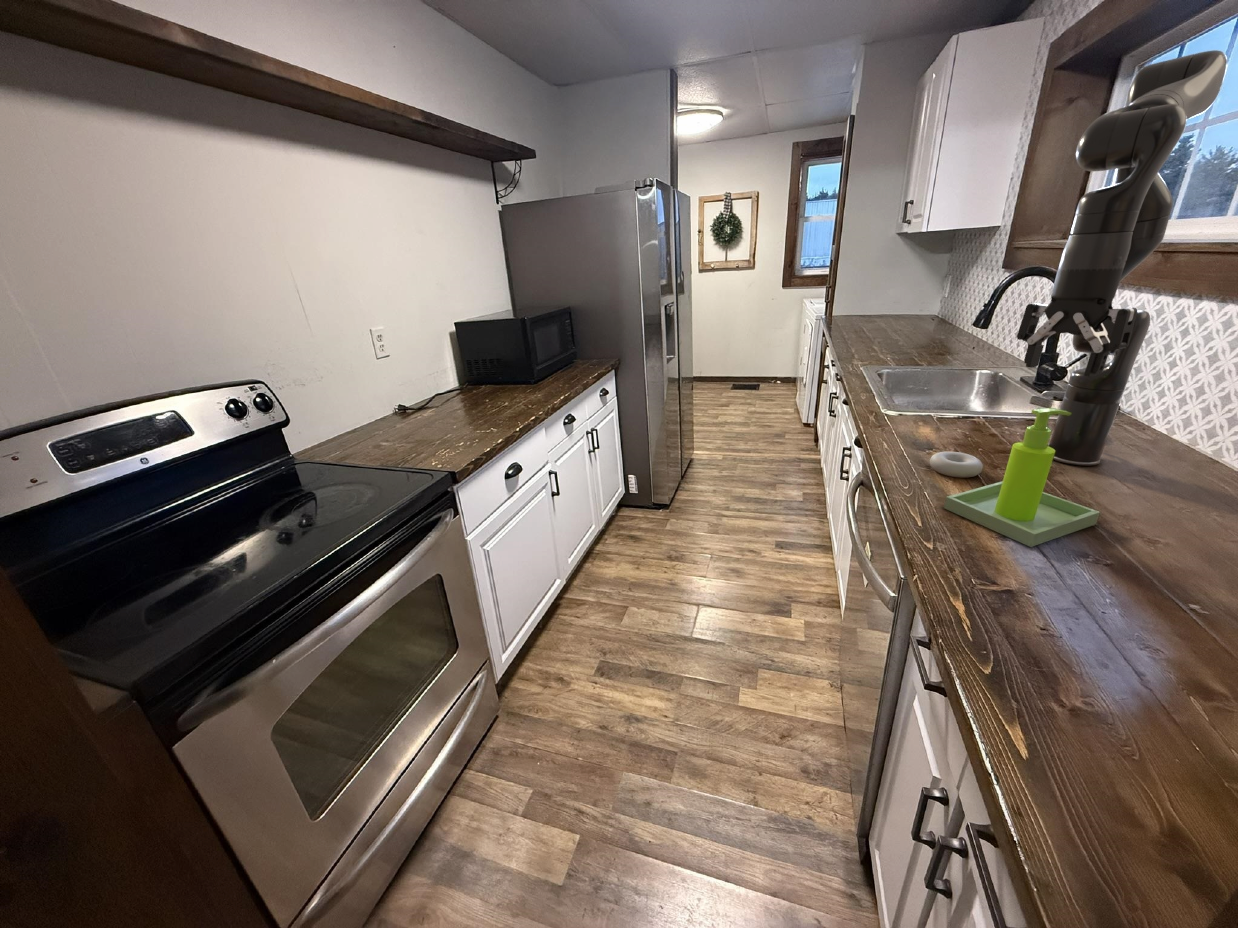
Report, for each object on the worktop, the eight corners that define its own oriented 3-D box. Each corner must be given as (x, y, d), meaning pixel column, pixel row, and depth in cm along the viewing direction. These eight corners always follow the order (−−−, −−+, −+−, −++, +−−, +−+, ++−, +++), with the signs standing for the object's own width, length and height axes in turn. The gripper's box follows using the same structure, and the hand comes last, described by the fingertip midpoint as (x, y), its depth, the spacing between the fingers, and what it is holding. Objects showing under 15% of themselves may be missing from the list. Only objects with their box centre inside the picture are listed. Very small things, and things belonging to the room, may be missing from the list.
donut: (937, 479, 108) (989, 480, 106) (940, 465, 107) (993, 466, 105) (921, 462, 117) (969, 463, 115) (924, 448, 116) (972, 449, 114)
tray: (1005, 490, 102) (1008, 479, 101) (1096, 524, 88) (1100, 511, 87) (943, 508, 96) (946, 496, 95) (1030, 547, 83) (1034, 534, 82)
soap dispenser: (1048, 520, 89) (1083, 413, 82) (1009, 521, 89) (1040, 415, 82) (1024, 505, 95) (1054, 404, 87) (987, 506, 95) (1014, 405, 87)
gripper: (1166, 264, 71) (1127, 376, 77) (1054, 265, 83) (1028, 361, 89) (1135, 267, 68) (1097, 382, 75) (1024, 267, 81) (999, 366, 87)
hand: (1059, 371), depth 82 cm, fingers open, 8 cm apart
